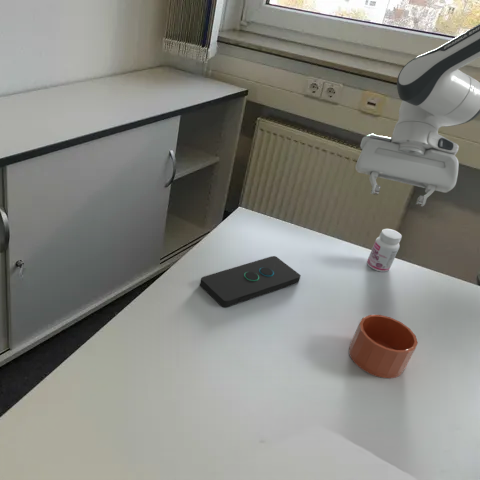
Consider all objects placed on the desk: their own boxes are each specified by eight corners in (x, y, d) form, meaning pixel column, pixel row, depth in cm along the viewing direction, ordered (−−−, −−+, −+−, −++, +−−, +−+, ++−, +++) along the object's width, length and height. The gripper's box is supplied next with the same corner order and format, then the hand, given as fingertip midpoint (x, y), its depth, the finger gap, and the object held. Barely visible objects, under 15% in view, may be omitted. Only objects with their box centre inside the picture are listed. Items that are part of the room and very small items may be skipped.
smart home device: (303, 276, 109) (226, 301, 100) (300, 282, 110) (224, 308, 101) (274, 254, 115) (199, 276, 106) (272, 260, 116) (197, 283, 107)
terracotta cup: (409, 357, 94) (422, 331, 91) (396, 387, 88) (410, 360, 85) (357, 332, 98) (368, 307, 95) (341, 359, 92) (352, 333, 89)
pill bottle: (362, 263, 118) (375, 231, 113) (373, 257, 120) (387, 225, 116) (381, 275, 115) (396, 242, 110) (393, 268, 117) (408, 235, 113)
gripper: (366, 126, 121) (350, 182, 118) (467, 147, 115) (452, 206, 113) (360, 138, 127) (345, 192, 124) (456, 158, 121) (442, 215, 118)
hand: (397, 199), depth 118 cm, fingers open, 8 cm apart
